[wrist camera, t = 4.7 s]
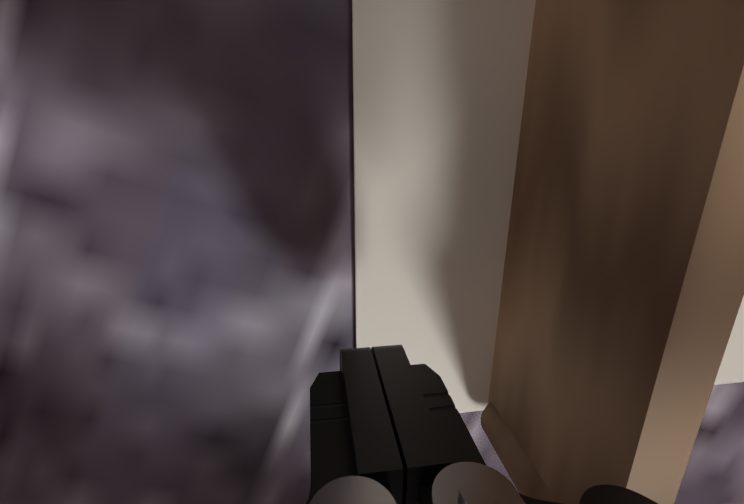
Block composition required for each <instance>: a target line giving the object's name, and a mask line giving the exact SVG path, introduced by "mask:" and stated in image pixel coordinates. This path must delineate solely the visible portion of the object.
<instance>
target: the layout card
mask: <svg viewBox="0 0 744 504" xmlns="http://www.w3.org/2000/svg"><path fill="white" fill-rule="evenodd" d="M535 1H536V0H352V45H353V133H354V222H355V310H356V348H365V347H370V348H372V347H376V346H389V345H402V346H403V348H404V350H405V353H406V355H407V358H408V360H409V362H410V365H416V364H426V365H427V366H428V367H430V368H431V369H432V370H433V371H435V372H436V373H437V374H438V375H439V376H440V377H441V379H442V381H443V383H444V385H445V386H446V388H447V390H448V394H449V395H450V396H451V398H452V400H453V402H454V404H455V408H456V409H457V410H458V412H459V413H464V412H473V411H482V410H484V409H485V407H486V406H487V405H488V399H489V390H490V382H491V373H492V365H493V356H494V348H495V340H496V331H497V323H498V314H499V306H500V297H501V289H502V280H503V272H504V263H505V255H506V247H507V238H508V230H509V221H510V213H511V204H512V196H513V187H514V179H515V170H516V162H517V154H518V145H519V137H520V128H521V120H522V111H523V103H524V94H525V86H526V78H527V69H528V61H529V52H530V44H531V35H532V27H533V18H534V10H535ZM737 382H744V296H743V299H742V302H741V305H740V308H739V311H738V314H737V317H736V320H735V323H734V326H733V329H732V332H731V335H730V338H729V341H728V344H727V347H726V350H725V353H724V356H723V359H722V362H721V365H720V367H719V370H718V373H717V376H716V379H715V382H714V385H719V384H728V383H737Z"/></svg>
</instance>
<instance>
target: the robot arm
mask: <svg viewBox="0 0 744 504" xmlns="http://www.w3.org/2000/svg"><path fill="white" fill-rule="evenodd" d="M310 436H311V490H310V495H309V499H308V501H307V504H562V503H556V502H550V501H544V500H539V499H535V498H530V497H528V496H525V495H522V494H520V493H518V491H517V490H516V488H515V487H514V486H513V484H512V483H511V482H510V481H509V480H508V479H507V478H506V477H505V476H503V475H502V474H501V473H499V472H498V471H496V470H494V469H493V468H490V467H488V466H486V464H485V462H484V460H483V458H482V456H481V455H480V453H479V451H478V449H477V447H476V445H475V443H474V441H473V439H472V437H471V435H470V433H469V431H468V429H467V427H466V425H465V423H464V421H463V420H462V418H461V416H460V414H459V412H458V410H457V409H456V408H455V404H454V402H453V400H452V398H451V396H450V395H449V394H448V390H447V388H446V386H445V385H444V383H443V381H442V379H441V377H440V376H439V375H438V374H437V373H436V372H435V371H433V370H432V369H431V368H430V367H428V366H427V365H426V364H416V365H410V362H409V360H408V358H407V355H406V353H405V350H404V348H403V346H402V345H389V346H376V347H372V348H370V347H365V348H352V349H340V371H335V372H323V373H319V374H318V376H317V377H316V379H315V381H314V382H313V384H312V386H311V387H310ZM579 504H658V503H656V502H654V501H653V500H651V499H649V498H647V497H645V496H643V495H641V494H639V493H637V492H635V491H633V490H630V489H627V488H624V487H620V486H616V485H608V484H606V485H596V486H593V487H591V488H589V489H587V490H586V491H585V492H584V493H583V495H582V496H581V499H580V502H579Z"/></svg>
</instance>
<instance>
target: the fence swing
mask: <svg viewBox="0 0 744 504" xmlns="http://www.w3.org/2000/svg"><path fill="white" fill-rule="evenodd" d="M743 296H744V0H536V1H535V10H534V18H533V27H532V35H531V44H530V52H529V61H528V69H527V78H526V86H525V94H524V103H523V111H522V120H521V128H520V137H519V145H518V154H517V162H516V170H515V179H514V187H513V196H512V204H511V213H510V221H509V230H508V238H507V247H506V255H505V263H504V272H503V280H502V289H501V297H500V306H499V314H498V323H497V331H496V340H495V348H494V356H493V365H492V373H491V382H490V390H489V399H488V405H487V406H486V407H485V409H484V410H483V413H482V415H481V425H482V428H483V430H484V432H485V433H486V435H487V437H488V439H489V440H490V442H491V444H492V446H493V447H494V449H495V451H496V453H497V455H498V456H499V458H500V460H501V462H502V463H503V465H504V467H505V469H506V471H507V472H508V474H509V476H510V478H511V479H512V481H513V483H514V485H515V487H516V488H517V490H518V492H519V493H520V494H522V495H525V496H528V497H530V498H535V499H539V500H544V501H550V502H556V503H562V504H579V502H580V499H581V496H582V495H583V493H584V492H585V491H586V490H587V489H589V488H591V487H593V486H596V485H606V484H608V485H616V486H620V487H624V488H627V489H630V490H633V491H635V492H637V493H639V494H641V495H643V496H645V497H647V498H649V499H651V500H653V501H654V502H656V503H658V504H674V502H675V499H676V496H677V493H678V490H679V487H680V484H681V481H682V478H683V475H684V472H685V469H686V466H687V463H688V460H689V457H690V454H691V451H692V448H693V445H694V442H695V439H696V436H697V433H698V430H699V427H700V424H701V421H702V418H703V415H704V412H705V409H706V406H707V403H708V400H709V397H710V394H711V391H712V388H713V385H714V382H715V379H716V376H717V373H718V370H719V367H720V365H721V362H722V359H723V356H724V353H725V350H726V347H727V344H728V341H729V338H730V335H731V332H732V329H733V326H734V323H735V320H736V317H737V314H738V311H739V308H740V305H741V302H742V299H743Z"/></svg>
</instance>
